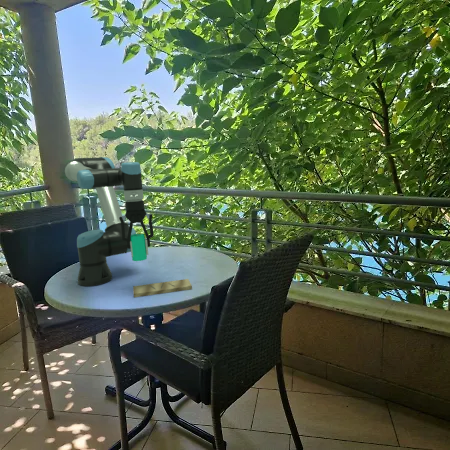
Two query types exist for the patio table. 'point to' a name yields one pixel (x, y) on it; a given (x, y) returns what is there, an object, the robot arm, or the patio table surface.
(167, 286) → the oak board
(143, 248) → the candle
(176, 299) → the patio table surface
